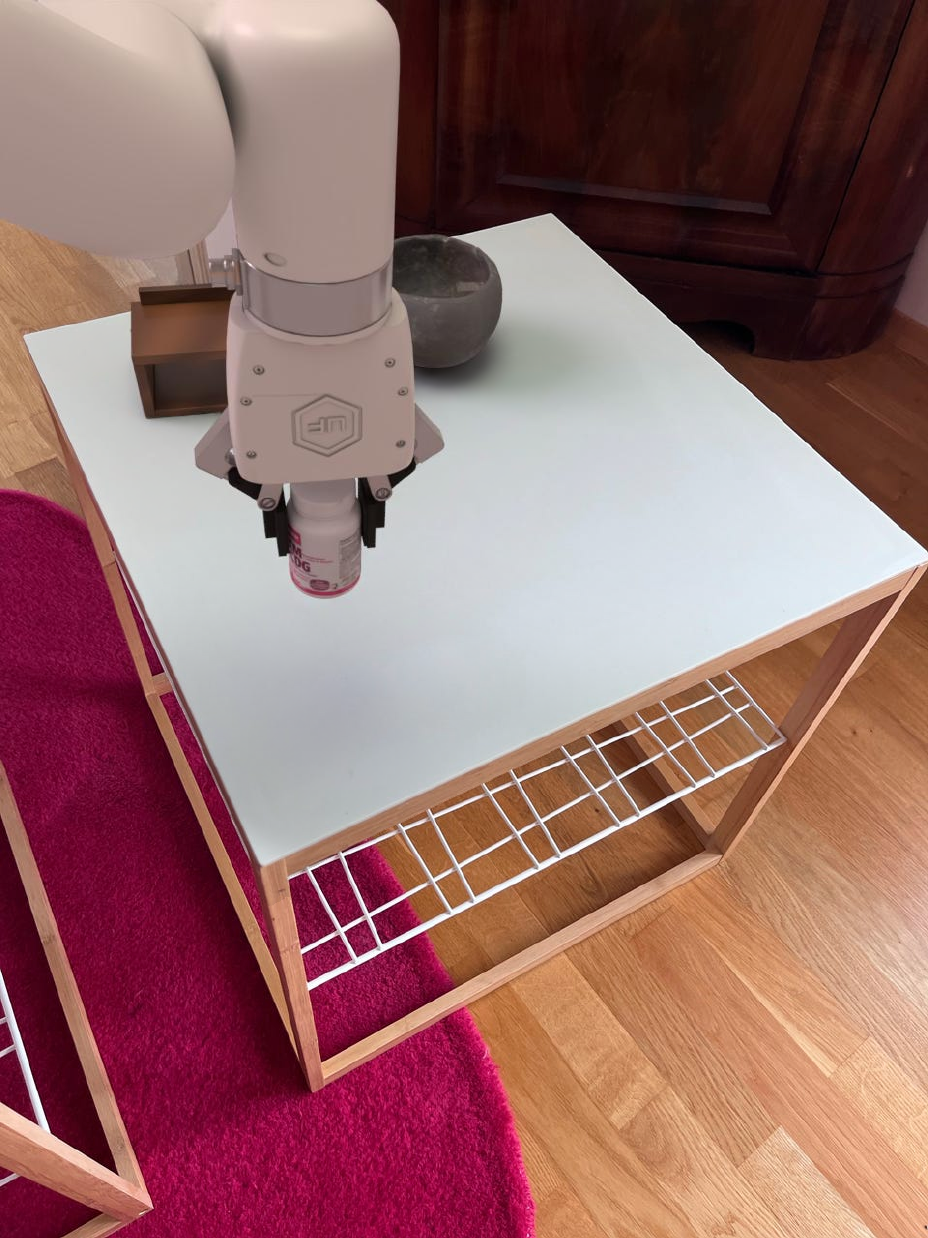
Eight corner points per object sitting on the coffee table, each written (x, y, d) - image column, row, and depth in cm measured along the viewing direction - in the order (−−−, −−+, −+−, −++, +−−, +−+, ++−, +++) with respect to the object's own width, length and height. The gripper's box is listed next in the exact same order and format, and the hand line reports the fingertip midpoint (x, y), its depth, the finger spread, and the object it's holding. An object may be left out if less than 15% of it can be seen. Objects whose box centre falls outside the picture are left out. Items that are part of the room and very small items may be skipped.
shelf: (145, 418, 91) (127, 341, 84) (144, 363, 96) (127, 287, 90) (292, 406, 94) (286, 331, 87) (283, 353, 99) (276, 278, 93)
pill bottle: (275, 583, 63) (266, 488, 57) (315, 540, 66) (311, 445, 60) (336, 612, 62) (334, 518, 56) (374, 567, 65) (376, 473, 58)
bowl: (383, 301, 107) (383, 215, 99) (510, 329, 105) (521, 244, 97) (335, 374, 97) (331, 286, 90) (474, 407, 95) (483, 319, 88)
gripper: (141, 328, 43) (191, 594, 57) (498, 312, 47) (465, 565, 61) (139, 245, 48) (186, 508, 62) (465, 236, 52) (440, 487, 65)
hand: (324, 534), depth 61 cm, fingers closed on pill bottle, 4 cm apart
